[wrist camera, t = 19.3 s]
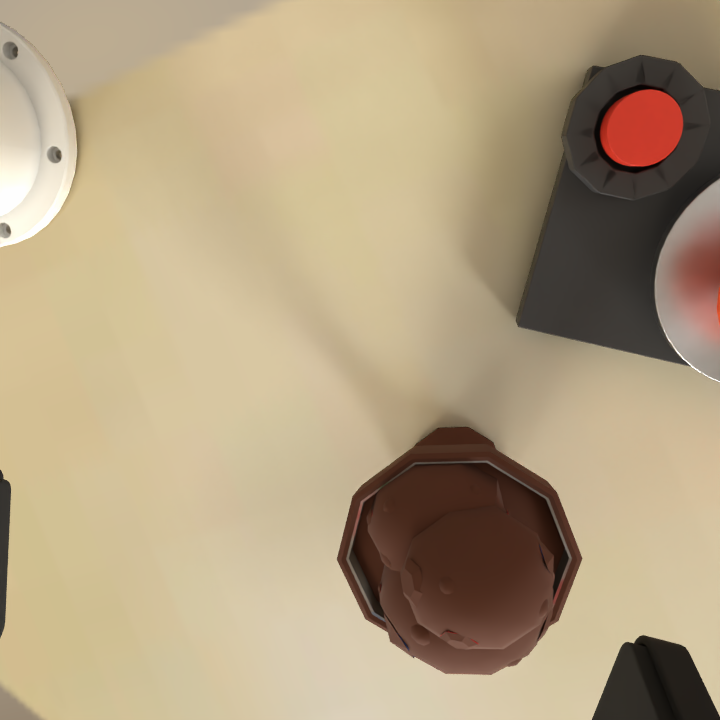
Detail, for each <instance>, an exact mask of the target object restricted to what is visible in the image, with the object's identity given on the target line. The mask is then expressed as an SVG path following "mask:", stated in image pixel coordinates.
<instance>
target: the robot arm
mask: <svg viewBox="0 0 720 720" xmlns="http://www.w3.org/2000/svg"><path fill="white" fill-rule="evenodd" d="M17 52H18V53H17ZM60 152H61V154H62V158H61V157H60ZM76 158H77V142H76V128H75V124H74V120H73V115H72V111H71V107H70V104H69V102H68V99H67V97H66V94H65V92H64V90H63V87H62V85H61V83H60V81H59V79H58V78H57V76H56V75H55V73H54V71H53V70H52V68H51V66H50V65H49V63H48V62H47V61H46V60H45V58H44V57H43V56H42V55H41V54H40V53H39V52H38V50H37V49H36V48H35V47H34V46H33V45H32V44H31V43H30V42H29V41H27V40H26V39H25V38H24V37H23V36H21V35H20V34H19V33H18V32H17V31H15V30H14V29H12V28H10V27H9V26H7V25H5V24H3V23H1V22H0V247H2V246H6V245H11V244H16V243H18V242H20V241H22V240H25V239H27V238H29V237H32V236H33V235H35V234H36V233H37V232H39V231H40V230H41V229H43V228H44V227H45V226H47V225H48V224H49V222H50V221H51V220H52V219H53V218H54V217H55V215H56V214H57V213H58V212H59V211H60V209H61V207H62V205H63V203H64V201H65V200H66V198H67V196H68V194H69V191H70V188H71V184H72V181H73V178H74V175H75V167H76ZM10 500H11V486H10V483H9V482H8V481H7V480H4V479H3V474H2V472H1V470H0V637H1V635H2V632H3V629H4V625H5V612H6V590H7V567H8V545H9V523H10ZM592 720H720V716H719V714H718V712H717V710H716V708H715V706H714V704H713V702H712V700H711V697H710V695H709V693H708V691H707V689H706V687H705V685H704V683H703V681H702V679H701V677H700V675H699V672H698V670H697V668H696V666H695V664H694V662H693V660H692V658H691V656H690V654H689V652H688V651H687V649H686V648H685V647H684V646H682V645H679V644H675V643H671V642H668V641H664V640H660V639H656V638H652V637H648V636H644V635H643V636H639V637H638V638H637V639H636V641H635V643H634V644H633V643H629V642H626V643H624V644H623V645H622V647H621V649H620V651H619V653H618V656H617V658H616V661H615V663H614V666H613V668H612V671H611V673H610V676H609V678H608V681H607V683H606V686H605V688H604V691H603V693H602V696H601V698H600V701H599V703H598V706H597V708H596V711H595V713H594V716H593V718H592Z"/></svg>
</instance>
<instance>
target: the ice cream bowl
mask: <svg viewBox="0 0 720 720" xmlns="http://www.w3.org/2000/svg"><path fill="white" fill-rule="evenodd" d="M337 561H338V563H339V565H340V567H341V569H342V571H343V573H344V575H345V577H346V579H347V582H348V584H349V586H350V588H351V590H352V592H353V594H354V596H355V598H356V600H357V602H358V605H359V607H360V609H361V611H362V613H363V615H364V617H365V619H366V620H368V621H370V622H371V623H373V624H375V625H377V626H378V627H380V628H382V629H383V630H385V631H387V632H388V634H389V638H390V642H392V643H393V644H395V645H396V646H397V647H399V648H400V649H402V650H403V651H405V652H406V653H407V654H409V655H410V656H412V657H413V658H414V657H416V658H418V659H420V660H422V661H424V662H425V663H427V664H429V665H431V666H433V667H434V668H436V669H438V670H440V671H442V672H443V673H445V674H482V675H492V674H493V673H495V672H497V671H499V670H501V669H503V668H505V667H507V666H508V667H509V666H515V665H517V664H518V663H519V662H520V661H521V660H522V658H523V657H525V656H527V655H529V653H530V652H531V651H532V650H533V648H534V647H535V646H536V645H537V642H538V641H539V640H540V639H541V638H542V637H543V636H544V635H545V633H546V631H547V629H548V627H549V626H550V625H552V624H554V623H556V622H557V621H558V620H559V618H560V615H561V613H562V610H563V607H564V605H565V602H566V600H567V597H568V594H569V592H570V589H571V587H572V584H573V581H574V579H575V576H576V574H577V571H578V569H579V566H580V563H581V561H582V557H581V554H580V551H579V549H578V546H577V544H576V541H575V538H574V536H573V533H572V531H571V528H570V525H569V523H568V520H567V518H566V515H565V512H564V510H563V507H562V505H561V502H560V499H559V497H558V494H557V492H556V491H555V490H554V489H553V487H552V486H551V485H550V484H549V483H548V482H547V481H546V480H545V479H543V478H541V477H540V476H538V475H536V474H535V473H533V472H531V471H530V470H528V469H527V468H525V467H523V466H522V465H520V464H518V463H517V462H515V461H514V460H512V459H510V458H509V457H507V456H505V455H504V454H502V453H501V452H499V451H497V450H496V448H495V446H494V443H493V442H492V441H490V440H488V439H487V438H485V437H484V436H482V435H480V434H479V433H477V432H475V431H474V430H472V429H471V428H469V427H454V428H438V429H436V430H435V431H434V432H432V433H431V434H430V435H428V436H427V437H425V438H424V439H423V440H421V441H420V442H419V443H417V444H416V445H415V446H414V447H413V448H412V449H410V450H409V451H408V452H406V453H405V454H403V455H402V456H401V457H399V458H398V459H397V460H395V461H394V462H393V463H391V464H390V465H389V466H387V467H386V468H384V469H383V470H382V471H380V472H379V473H378V474H376V475H375V476H374V477H372V478H371V479H369V480H368V481H367V482H365V483H364V484H363V485H362V486H361V487H360V488H359V489H358V491H357V492H356V493H355V494H354V495H353V497H352V501H351V505H350V509H349V513H348V517H347V521H346V525H345V529H344V533H343V537H342V541H341V545H340V549H339V553H338V557H337Z"/></svg>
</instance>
